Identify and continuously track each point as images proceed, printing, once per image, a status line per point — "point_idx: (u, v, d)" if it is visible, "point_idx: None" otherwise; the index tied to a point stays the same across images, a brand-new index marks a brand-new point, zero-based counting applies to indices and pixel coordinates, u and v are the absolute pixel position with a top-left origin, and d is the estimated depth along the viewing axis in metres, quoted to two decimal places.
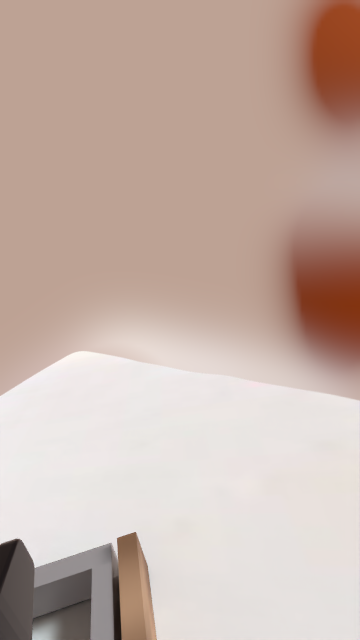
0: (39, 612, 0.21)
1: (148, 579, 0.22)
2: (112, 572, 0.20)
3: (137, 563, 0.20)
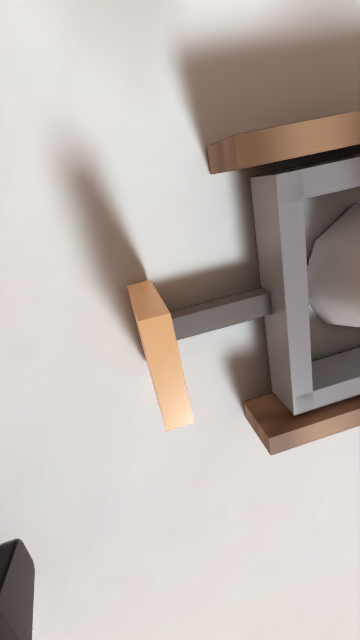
0: None
1: None
2: None
3: None
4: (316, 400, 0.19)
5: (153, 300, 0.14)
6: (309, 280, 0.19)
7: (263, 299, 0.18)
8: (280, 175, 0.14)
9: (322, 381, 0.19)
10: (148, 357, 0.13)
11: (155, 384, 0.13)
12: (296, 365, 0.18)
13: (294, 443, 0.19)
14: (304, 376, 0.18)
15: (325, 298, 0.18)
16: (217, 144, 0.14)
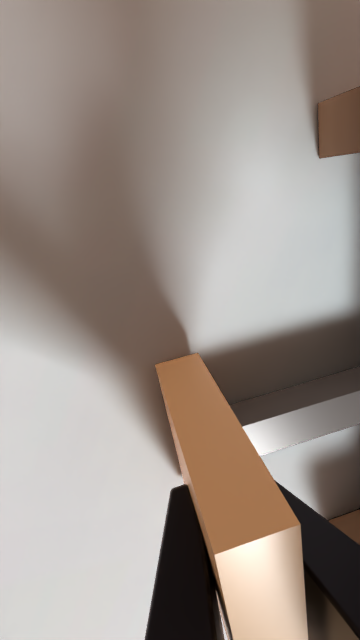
0: None
1: None
2: None
3: None
4: None
5: (228, 439, 0.06)
6: None
7: None
8: None
9: None
10: (232, 620, 0.05)
11: None
12: None
13: None
14: None
15: None
16: None
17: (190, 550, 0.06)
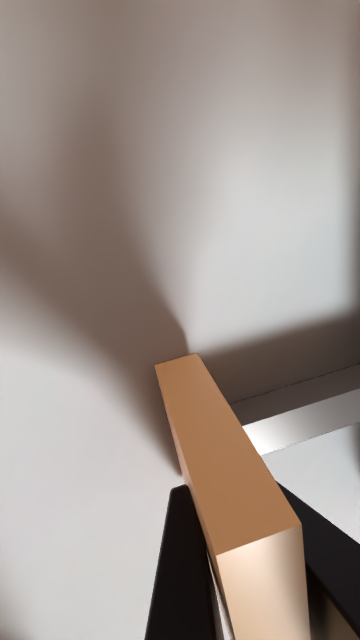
0: None
1: None
2: None
3: None
4: None
5: (229, 440, 0.06)
6: None
7: None
8: None
9: None
10: (234, 620, 0.05)
11: None
12: None
13: None
14: None
15: None
16: None
17: (190, 550, 0.06)
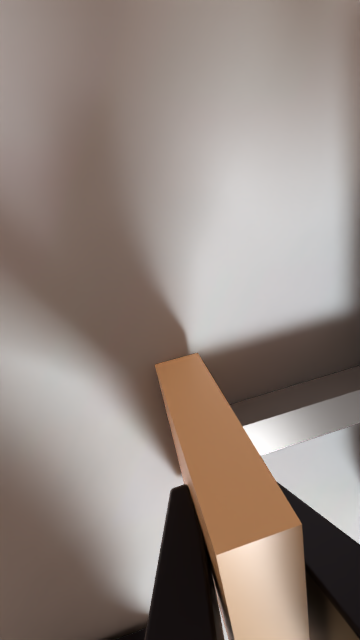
0: None
1: None
2: None
3: None
4: None
5: (229, 440, 0.06)
6: None
7: None
8: None
9: None
10: (233, 620, 0.05)
11: None
12: None
13: None
14: None
15: None
16: None
17: (190, 550, 0.06)
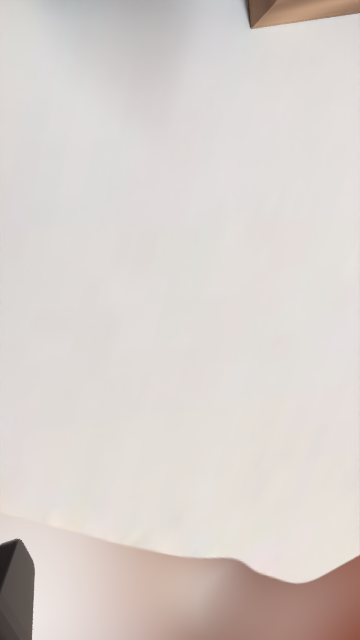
0: None
1: None
2: None
3: None
4: None
5: None
6: None
7: None
8: None
9: None
10: None
11: None
12: None
13: None
14: None
15: None
16: None
17: None
